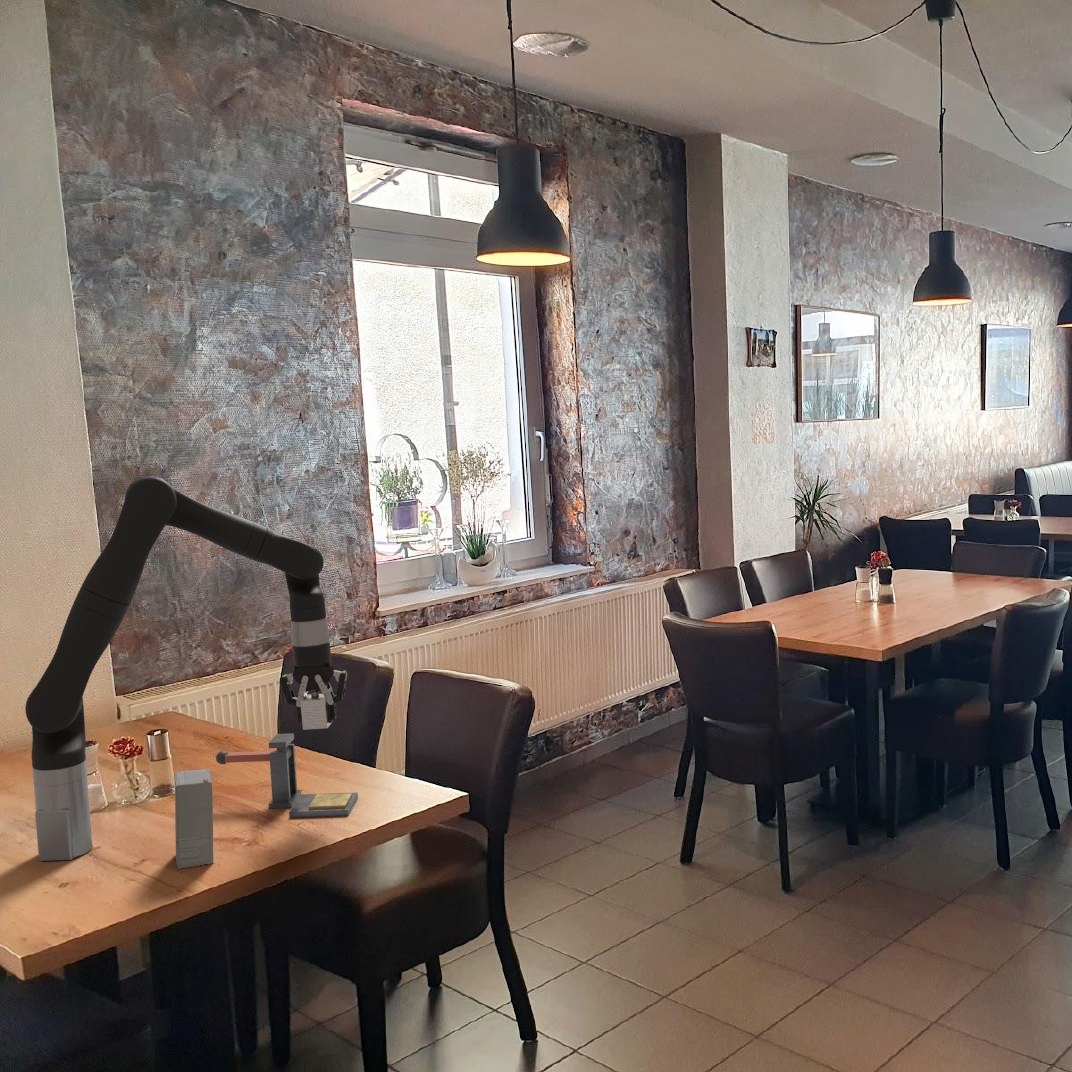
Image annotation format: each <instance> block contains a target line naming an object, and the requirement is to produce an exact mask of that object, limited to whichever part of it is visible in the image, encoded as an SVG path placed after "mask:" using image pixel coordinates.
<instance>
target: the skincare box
mask: <svg viewBox="0 0 1072 1072" xmlns="http://www.w3.org/2000/svg"><path fill="white" fill-rule="evenodd" d="M210 771H211V770H210V768H204V769H194V770H193V769H192V770H191V769H190V770H181V771H174V796H175V797H174V804H175V805H174V806H175V807H174V808H175V811H174V813H175V814H174V815H175V820H174V821H175V822H174V823H175V826H174V827H175V829H174V830H175V862H176V866H177V869H178V870H180V869H186V868H194V867H201V866H200V865H202V866H205V865H204V864H208V865H212V864H211V863H213V864H214V801H213V800H214V797H213V781H212V773H211V772H210Z"/></svg>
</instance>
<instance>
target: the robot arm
mask: <svg viewBox="0 0 1072 1072" xmlns="http://www.w3.org/2000/svg"><path fill="white" fill-rule="evenodd" d="M165 526H168V527H172V528H176V529H180V530H182V531H186V532H188V533H191V534H194V535H196V536H199V537H201V538H203V539H205V540H206V541H209V542H210V543H213V544H214V545H217V546H219V547H221V548H223V549H224V550H227V551H228V552H229V551H230V552H231V553H235V554H236V555H238V556H242V557H244V558H247V559H249V560H252V561H255V562H257V563H260V564H261V563H262V564H265V565H267V566H270V567H272V568H275V569H277V570H279V571H281V572H283V573H284V575H285V581H286V586H287V590H288V595H289V612H290V614H289V615H290V621H291V622H290V624H291V625H290V636H291V637H290V638H291V639H290V640H291V648H292V650H291V651H292V658H293V671H292V673H288V674H287V673H285V674H284V673H283V674H282V676H280V677H279V682H280V686H281V688H282V692H283V693H284V697H285V699H286V702H287V704H288V705H293V706H296V712H297V720H298V722H299V723H301V725H302V714H301V703H300V701H301V700H302V699H304V697H306V695H308V693H309V692H311V691H312V690H317V691H319V692H321V694H323V695H324V696H325V698H326V700H327V702H328V705H327V710H328V721H329V723H331V724H333V723H334V722H335V721H334V720H336V718H337V703H338V702H342V700H344V698H345V694H346V687H347V682H348V681H347V680H348V675H349V674H348V671H347V670H343V671H341V670H336V669H335V668H334V666H333V664H332V655H331V640H330V632H329V631H330V630H329V626H328V620H327V613H326V603H325V595H324V593H323V592H322V590H321V583H320V575H319V574H321V572H322V570H323V568H324V565H325V564H324V561H325V559H324V557H323V554H322V553H321V551H320V550H319V549H318V548H317V547H315V546H313V545H310V544H308V543H305V542H302V541H299V540H296V539H294V538H291V537H288V536H285V535H283V534H280V533H279V532H277V531H275V530H273V529H271V528H269V527H267V526H264V525H262V524H259V523H256V522H255V521H251V520H250V519H246V518H244V517H241V516H238V515H235V514H232V513H230V512H226V511H224V510H221V509H218V508H215V507H213V506H210V505H207V504H205V503H203V502H200V501H198V500H196V499H194V498H193V497H190V496H189V495H187V494H184V493H183V492H181V491H179V490H178V489H177V488H175V487H173V486H172V485H170V483H169V482H167V481H166V480H165V479H163V478H161V477H160V476H159V477H158V476H155V475H154V476H153V475H145V476H141V477H139V478H136V479H135V480H134V481H133V482H131V483H130V484H129V486H128V487H127V489H126V491H125V494H124V501H123V505H122V508H121V511H120V513H119V517H118V520H117V522H116V525H115V527H114V529H113V533H112V535H111V537H110V539H109V541H108V542H107V544H106V546H105V547H104V549H103V550H102V552H101V553H100V554H99V556H98V557H97V558H96V560H95V562H94V564H93V565H92V567H91V568H90V570H89V571H88V573H87V575H86V577H85V578H84V581H83V582H82V584H81V586H80V588H79V590H78V593H77V594H76V597H75V599H74V601H73V603H72V606H71V608H70V611H69V613H68V615H67V618H66V621H65V623H64V626H63V629H62V632H61V635H60V637H59V641H58V643H57V647H56V649H55V651H54V655H53V656H52V658H51V660H50V662H49V664H48V665H47V667H46V669H45V671H44V672H43V674H42V676H41V678H40V680H38V683H37V684H36V686H35V687H34V688H33V689H32V691H31V692H30V693H29V695H28V697H27V699H26V702H25V708H24V710H25V715H26V719H27V721H28V723H29V725H30V726H31V730H32V731H31V733H32V743H31V744H32V745H31V767H32V777H33V779H32V780H33V790H34V792H33V793H34V805H35V813H34V814H35V815H34V816H35V828H36V829H35V830H36V838H37V839H36V840H37V852H38V861H39V862H43V861H45V862H46V861H49V862H50V861H71V860H73V859H74V858H77V857H80V856H82V855H84V854H86V853H88V852H90V851H91V850H92V848H93V837H92V836H93V834H92V824H91V823H92V822H91V810H90V809H91V808H90V797H89V784H88V782H89V781H88V769H87V759H86V757H87V756H86V755H87V754H86V744H87V743H86V724H85V721H86V720H85V709H84V705H85V704H84V699H83V697H84V694H85V690H86V688H87V685H88V683H89V680H90V678H91V675H92V673H93V672H94V670H95V669H94V668H95V667H96V665H97V663H98V661H99V660H100V659H101V658H102V656H103V654H104V652H105V651H106V649H107V648H108V646H109V644H110V643H111V641H113V639H114V637H115V635H116V634H117V631H118V629H119V628H120V625H121V624H122V622H123V620H124V618H125V615H126V614H127V612H128V610H129V607H130V604H131V603H132V601H133V598H134V595H135V594H136V590H137V589H138V586H139V584H140V583H139V582H140V581H141V577H142V575H143V571H144V569H145V564H146V562H147V559H148V557H149V554H150V552H151V551H152V548H153V547H154V545H155V543H156V541H157V539H158V538H159V536H160V535H161V533H162V531H163V530H164V528H165ZM333 677H334V678H335V681H336V682H338V683H337V691H336V695H335V694H334V692H333V687H332V685H331V683H330V682H331V680H332V679H333ZM293 680H295V682H296V683H297V684H298V685H299V690H298V694H297V697H296V695H295V691H294V688H293V686H292V684H293V682H294V681H293Z"/></svg>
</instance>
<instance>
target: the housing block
mask: <svg viewBox="0 0 1072 1072" xmlns="http://www.w3.org/2000/svg"><path fill="white" fill-rule="evenodd" d="M300 703H301V714H302V724H301V725H302V730H304V731H305V730H319V729H320V730H321V729H328V728H329V727H330V726H331V724H332V723H329V721H328V710H327V705H328V702H327V700H326V698H325V696H324V695H323V694H322V693H320V690H319V691H317V690H312V691H310V694H307V695H306V697H304V699H302V700H301V701H300Z"/></svg>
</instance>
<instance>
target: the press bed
mask: <svg viewBox="0 0 1072 1072" xmlns="http://www.w3.org/2000/svg"><path fill="white" fill-rule="evenodd" d="M294 740H295V733H294V732H293V733H277V734H275V736H273V738H272V739H271V740H270V741H269V742H268V749H276V751H278V750H279V749H280V748H286V747H289V748H290V749H291V752H292V753H291V756H290V757H289V759H288V751H287V752H270V753H269V756H270V761H269V770H270V783H271V784H270V786H271V800H270V801H269V803H268V809H287V808H288V809H289V812H288V817H289V819H293V818H294V819H296V818H321V817H322V818H323V817H325V818H326V817H327V816H328V817H344V816H345V817H348V816H349V815H350V813H351V811H352V809H353V808H354V806H355V805H356V804H357V803H356V802H357V800H358V799H359V793H358V792H357V791H355V792H337V793H336V792H335V793H330V792H329V793H311V794H310V793H309V794H308V793H306V794H303V793H302V790H301V789H298V780H297V767H296V766H297V765H296V764H297V762H296V749H295V747H296V746H295V743H292V742H293V741H294ZM352 807H353V808H352Z"/></svg>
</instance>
